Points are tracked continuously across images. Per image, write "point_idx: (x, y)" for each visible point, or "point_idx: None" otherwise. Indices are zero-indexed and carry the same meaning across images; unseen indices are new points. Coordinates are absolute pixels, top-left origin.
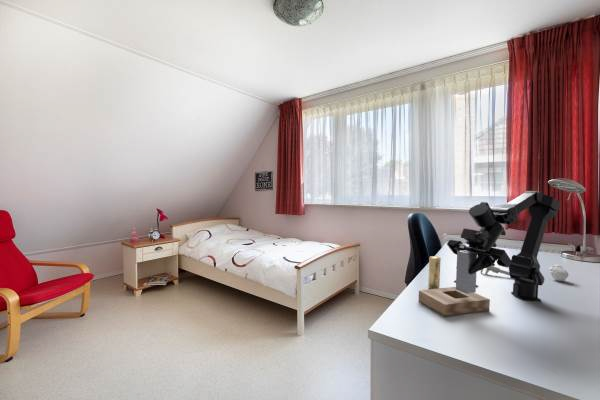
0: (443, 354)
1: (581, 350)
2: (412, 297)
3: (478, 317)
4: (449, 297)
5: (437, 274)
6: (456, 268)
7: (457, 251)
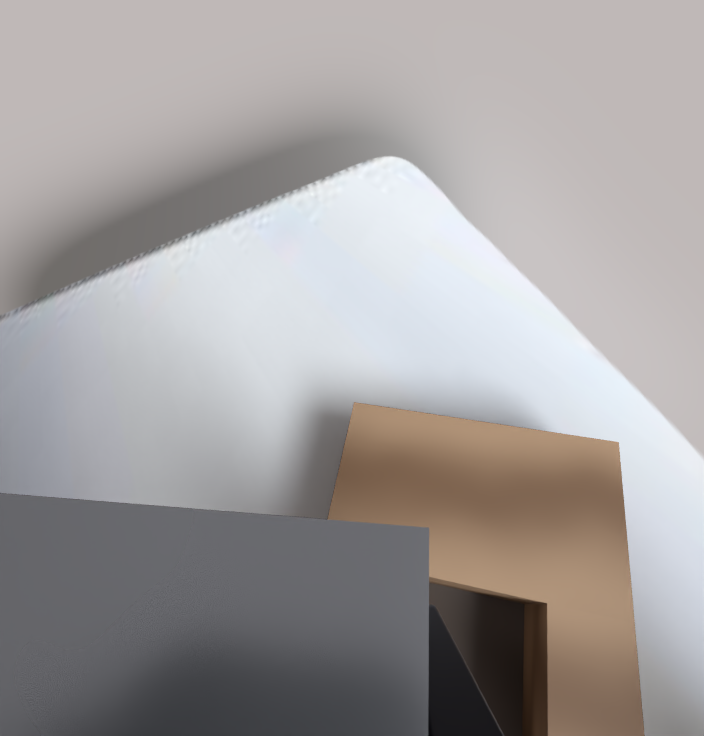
0: (211, 227)
1: None
2: (660, 485)
3: None
4: None
5: None
6: (430, 605)
7: (415, 532)
